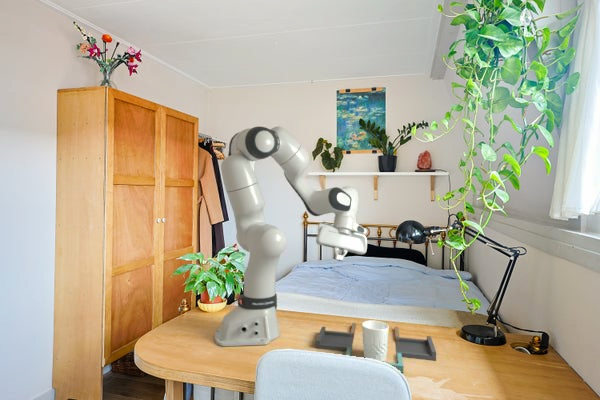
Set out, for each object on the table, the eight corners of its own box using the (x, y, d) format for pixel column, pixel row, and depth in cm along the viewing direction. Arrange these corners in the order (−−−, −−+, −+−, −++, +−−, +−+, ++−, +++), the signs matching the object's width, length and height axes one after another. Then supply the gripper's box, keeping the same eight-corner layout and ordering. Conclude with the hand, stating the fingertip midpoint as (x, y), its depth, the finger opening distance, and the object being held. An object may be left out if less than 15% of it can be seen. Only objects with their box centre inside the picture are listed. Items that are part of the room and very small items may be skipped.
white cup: (359, 361, 107) (359, 327, 107) (364, 350, 115) (364, 319, 114) (386, 365, 104) (387, 331, 104) (389, 354, 112) (390, 322, 112)
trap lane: (326, 323, 137) (326, 317, 137) (426, 332, 129) (426, 325, 129) (309, 362, 106) (309, 354, 106) (441, 377, 98) (441, 368, 98)
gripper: (321, 218, 140) (315, 253, 135) (370, 230, 143) (366, 265, 138) (317, 222, 146) (311, 255, 141) (364, 234, 149) (360, 267, 144)
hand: (338, 260), depth 140 cm, fingers closed
